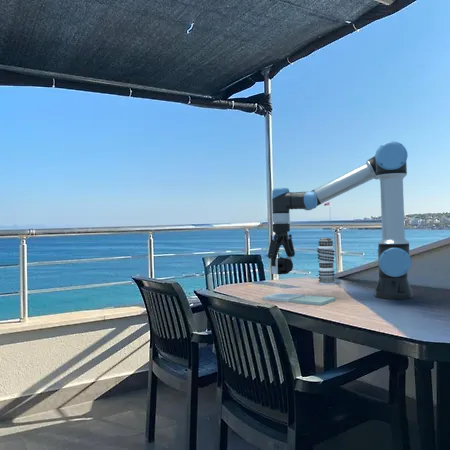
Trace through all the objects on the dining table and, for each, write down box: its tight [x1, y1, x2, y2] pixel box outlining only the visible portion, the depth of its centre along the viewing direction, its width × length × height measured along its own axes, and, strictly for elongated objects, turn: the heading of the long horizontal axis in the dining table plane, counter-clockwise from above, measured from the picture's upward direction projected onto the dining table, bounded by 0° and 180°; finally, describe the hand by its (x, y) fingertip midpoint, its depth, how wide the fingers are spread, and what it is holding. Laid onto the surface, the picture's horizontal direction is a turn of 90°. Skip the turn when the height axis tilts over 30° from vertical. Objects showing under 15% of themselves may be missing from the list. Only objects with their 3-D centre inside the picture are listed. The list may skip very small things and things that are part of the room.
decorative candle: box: [316, 237, 336, 286], centre depth 230 cm, size 9×9×25 cm
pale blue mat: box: [262, 292, 304, 303], centre depth 186 cm, size 13×13×1 cm
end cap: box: [276, 256, 294, 275], centre depth 186 cm, size 10×7×7 cm
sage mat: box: [291, 294, 336, 306], centre depth 177 cm, size 13×13×1 cm
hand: (282, 272), depth 186 cm, fingers closed on end cap, 11 cm apart
